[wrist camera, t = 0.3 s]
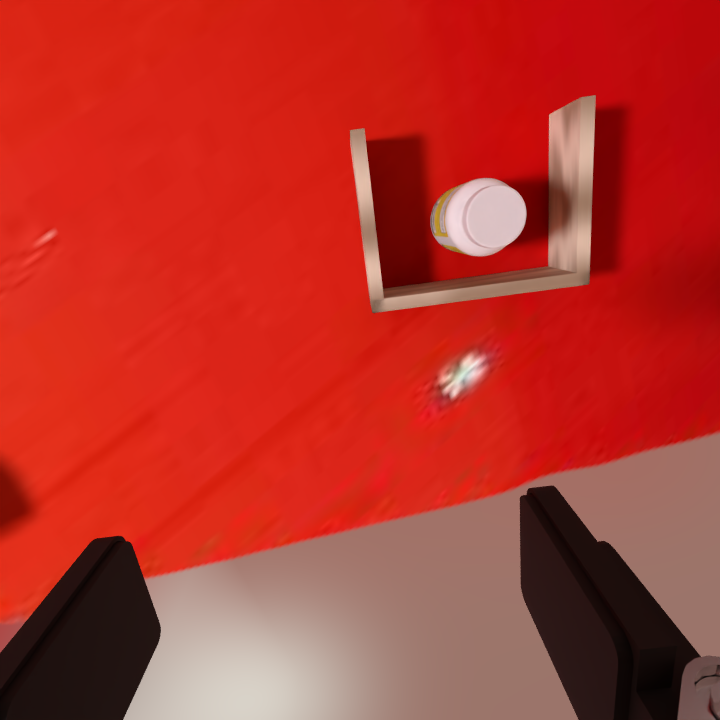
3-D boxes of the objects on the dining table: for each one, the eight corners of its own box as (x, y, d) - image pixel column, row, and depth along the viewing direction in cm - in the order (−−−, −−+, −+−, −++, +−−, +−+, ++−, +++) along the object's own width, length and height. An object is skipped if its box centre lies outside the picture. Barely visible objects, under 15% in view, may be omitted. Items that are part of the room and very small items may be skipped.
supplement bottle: (503, 225, 37) (552, 227, 28) (451, 263, 38) (482, 277, 29) (470, 171, 35) (511, 154, 26) (417, 212, 36) (438, 209, 27)
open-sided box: (350, 142, 35) (350, 130, 30) (561, 112, 34) (595, 95, 29) (370, 301, 39) (372, 312, 34) (559, 276, 38) (589, 284, 33)
